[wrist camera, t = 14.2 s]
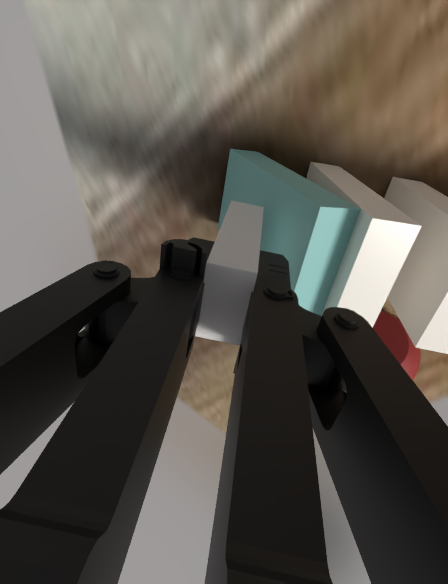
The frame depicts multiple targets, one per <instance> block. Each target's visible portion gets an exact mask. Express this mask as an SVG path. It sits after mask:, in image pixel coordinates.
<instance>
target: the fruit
mask: <svg viewBox="0 0 448 584" xmlns="http://www.w3.org/2000/svg"><path fill="white" fill-rule="evenodd" d="M373 329H374V330H375V332H376V333H377V334H378V336H379V337H380V338H381V340H382V341H383V342H384V343H385V345H386V346H387V347H388V349H389V350H390V351H391V353H392V354H393V355H394V357H395V358H396V359H397V361H398V362H399V363H400V365H401V366H402V367H403V368H404V370H405V371H406V372H407V374H408V375H409V376H410V378H411V379H412V380H413V379H414V377H415V376H416V374H417V372H418V369H419V365H420V348H416V347H415V346H414V344H413V342H412V341H411V339H410V337H409V335H408V334H407V332H406V330H405V328H404V326H403V325H402V323H401V321H400V319H399V318H398V317H396V316H394V315H393V314H390V313H388V312H385V311H380V313H379V315H378V317H377V320H376V322H375V324H374V326H373Z"/></svg>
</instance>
